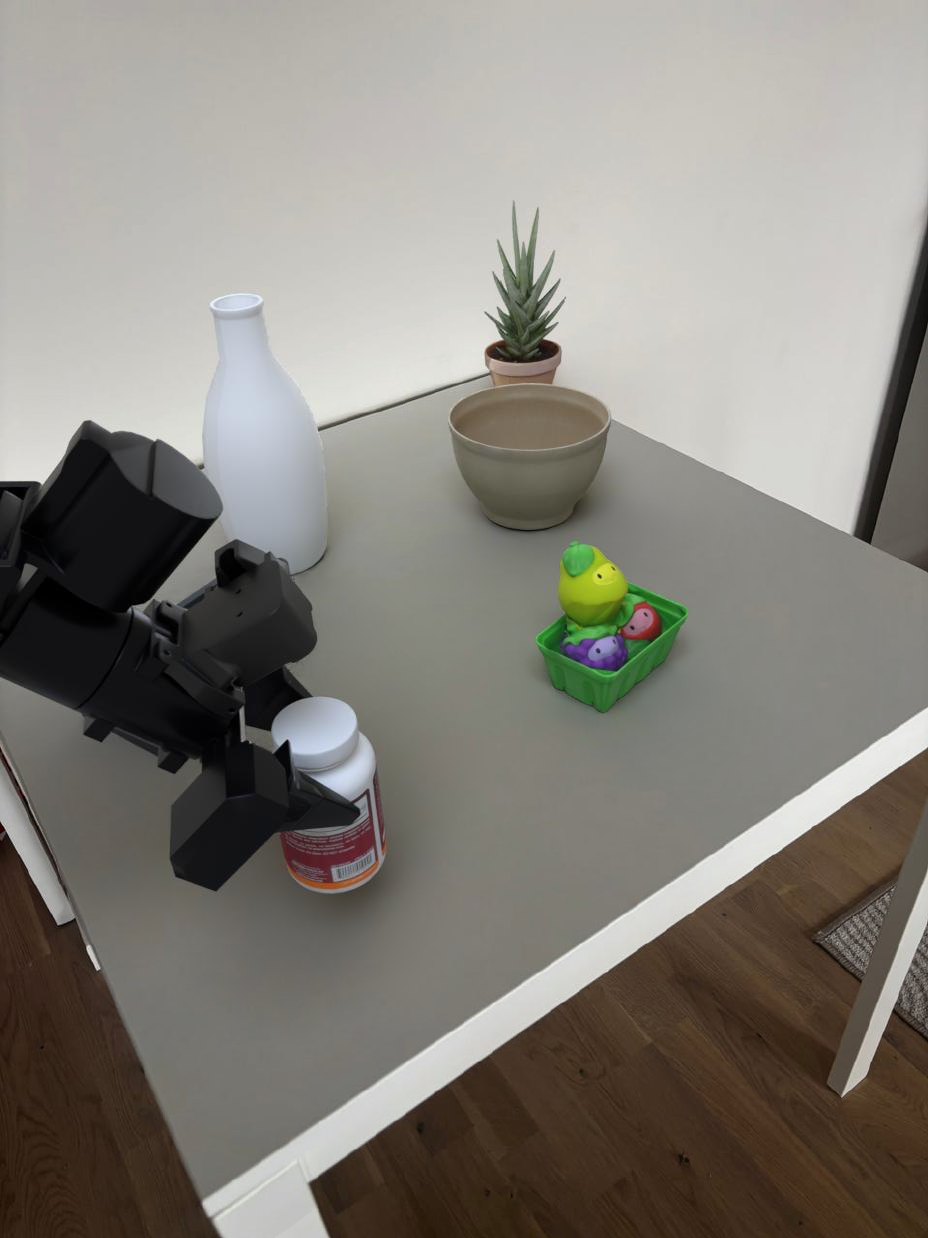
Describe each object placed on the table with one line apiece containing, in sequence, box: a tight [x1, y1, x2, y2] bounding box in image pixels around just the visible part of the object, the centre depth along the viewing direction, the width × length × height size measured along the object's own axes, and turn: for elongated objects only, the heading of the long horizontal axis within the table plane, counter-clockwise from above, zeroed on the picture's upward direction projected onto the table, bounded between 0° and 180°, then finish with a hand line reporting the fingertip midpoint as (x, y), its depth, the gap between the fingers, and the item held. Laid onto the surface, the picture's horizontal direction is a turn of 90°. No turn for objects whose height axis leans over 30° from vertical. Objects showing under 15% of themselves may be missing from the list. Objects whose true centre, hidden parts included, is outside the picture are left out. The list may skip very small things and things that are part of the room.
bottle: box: [201, 292, 329, 576], centre depth 90 cm, size 11×11×25 cm
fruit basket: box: [534, 540, 690, 713], centre depth 77 cm, size 11×9×11 cm
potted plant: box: [483, 199, 567, 387], centre depth 117 cm, size 10×10×25 cm
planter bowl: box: [447, 383, 612, 531], centre depth 99 cm, size 16×16×11 cm
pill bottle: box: [270, 696, 387, 894], centre depth 56 cm, size 6×6×11 cm
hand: (348, 776), depth 55 cm, fingers closed on pill bottle, 6 cm apart
